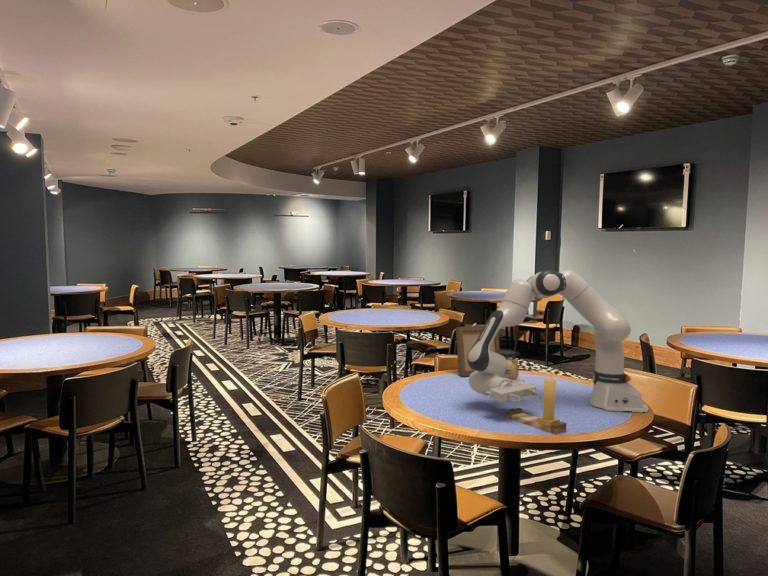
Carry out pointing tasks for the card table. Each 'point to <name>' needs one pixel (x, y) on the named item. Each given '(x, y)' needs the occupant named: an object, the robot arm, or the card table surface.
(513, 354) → the coffee can
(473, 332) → the photo frame
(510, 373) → the kitten
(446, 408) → the card table surface
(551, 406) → the keeper
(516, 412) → the rail
